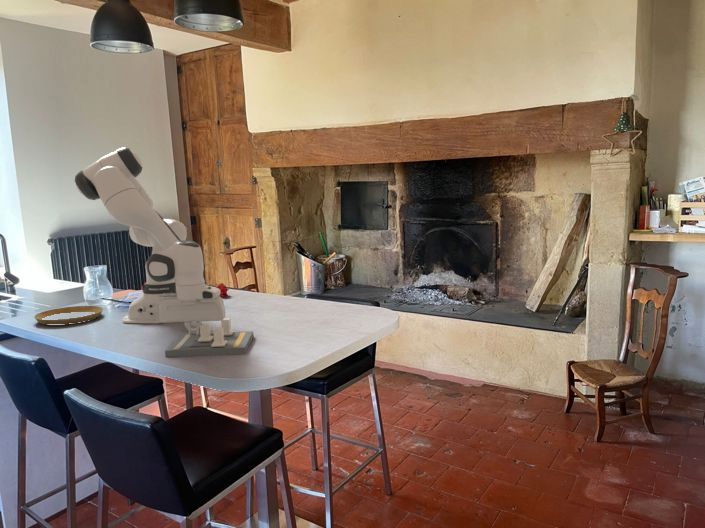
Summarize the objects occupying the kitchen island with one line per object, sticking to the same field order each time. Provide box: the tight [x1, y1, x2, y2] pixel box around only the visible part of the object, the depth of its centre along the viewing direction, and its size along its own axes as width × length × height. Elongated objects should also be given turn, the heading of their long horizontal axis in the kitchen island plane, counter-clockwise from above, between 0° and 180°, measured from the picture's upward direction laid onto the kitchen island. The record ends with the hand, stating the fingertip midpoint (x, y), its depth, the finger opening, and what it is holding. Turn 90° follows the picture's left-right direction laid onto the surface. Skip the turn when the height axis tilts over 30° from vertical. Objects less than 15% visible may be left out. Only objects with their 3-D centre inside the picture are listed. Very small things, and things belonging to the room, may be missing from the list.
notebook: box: [112, 289, 137, 299], centre depth 252 cm, size 27×17×2 cm, turn 56°
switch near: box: [211, 326, 227, 347], centre depth 167 cm, size 4×4×5 cm
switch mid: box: [198, 322, 213, 342], centre depth 172 cm, size 4×4×5 cm
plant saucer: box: [33, 305, 104, 325], centre depth 214 cm, size 24×24×3 cm
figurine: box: [206, 282, 230, 298], centre depth 249 cm, size 6×8×15 cm
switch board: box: [164, 330, 254, 358], centre depth 173 cm, size 24×18×2 cm
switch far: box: [220, 317, 235, 335], centre depth 179 cm, size 4×4×5 cm
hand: (194, 334), depth 172 cm, fingers closed
